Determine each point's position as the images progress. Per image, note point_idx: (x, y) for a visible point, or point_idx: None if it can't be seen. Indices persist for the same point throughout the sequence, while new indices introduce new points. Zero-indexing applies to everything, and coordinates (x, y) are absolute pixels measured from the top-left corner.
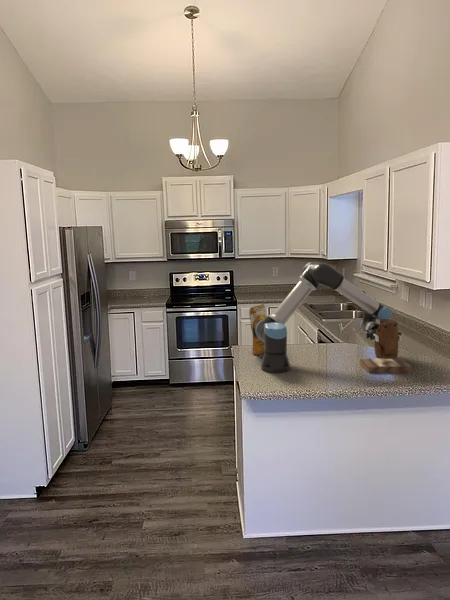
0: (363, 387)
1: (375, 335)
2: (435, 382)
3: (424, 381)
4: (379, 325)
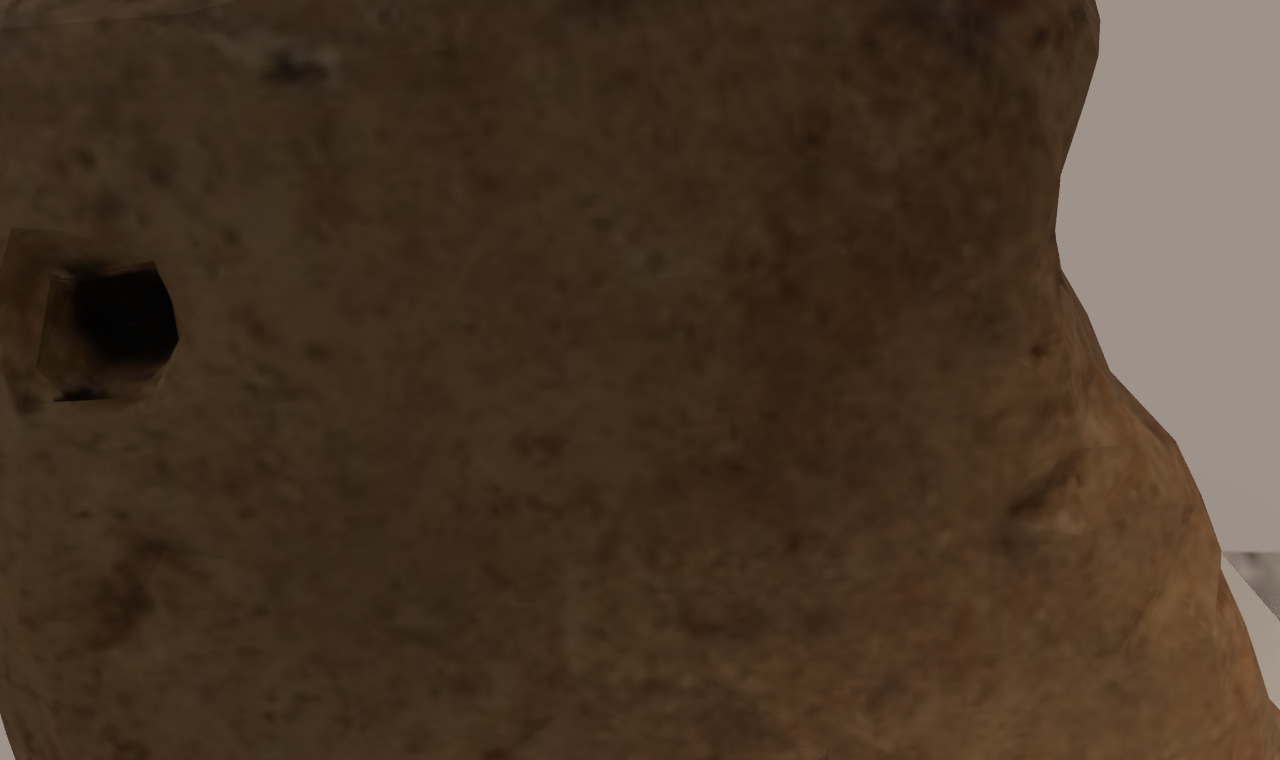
0: (1268, 587)
1: (1272, 615)
2: None
3: None
4: (1096, 363)
